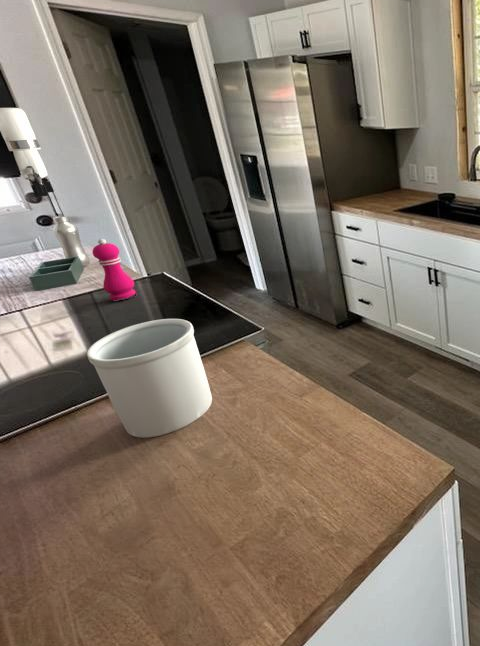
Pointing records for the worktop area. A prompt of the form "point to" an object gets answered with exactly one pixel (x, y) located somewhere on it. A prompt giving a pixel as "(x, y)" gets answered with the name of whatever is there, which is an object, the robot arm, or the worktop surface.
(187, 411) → the utensil holder
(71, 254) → the silver metal bottle
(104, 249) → the pepper mill
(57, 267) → the divided storage box
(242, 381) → the worktop surface
